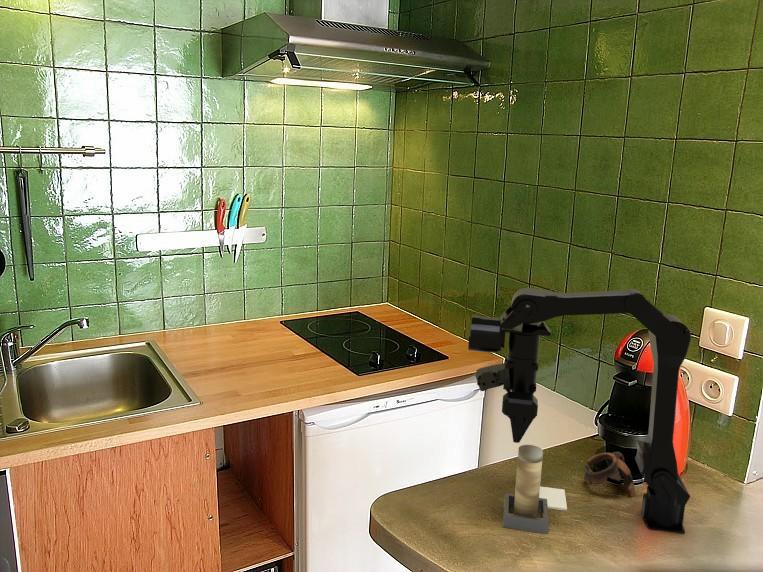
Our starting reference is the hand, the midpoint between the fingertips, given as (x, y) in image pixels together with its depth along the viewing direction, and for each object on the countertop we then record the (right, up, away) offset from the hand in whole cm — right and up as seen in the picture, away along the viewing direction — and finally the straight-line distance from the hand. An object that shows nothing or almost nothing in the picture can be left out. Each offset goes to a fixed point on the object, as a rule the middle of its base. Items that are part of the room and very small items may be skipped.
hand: (516, 432), depth 121 cm
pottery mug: (+22, -14, +10) cm, 28 cm away
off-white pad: (+7, -14, +5) cm, 16 cm away
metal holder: (+1, -16, -3) cm, 16 cm away
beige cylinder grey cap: (+1, -16, -3) cm, 16 cm away
